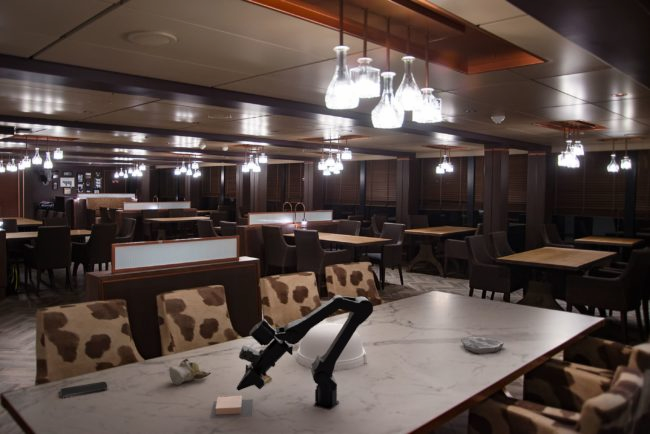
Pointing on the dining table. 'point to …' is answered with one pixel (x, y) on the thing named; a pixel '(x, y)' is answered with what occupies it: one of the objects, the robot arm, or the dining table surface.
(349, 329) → the robot arm
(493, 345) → the flat grey rock
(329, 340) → the dome cover
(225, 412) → the tile
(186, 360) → the ceramic sculpture
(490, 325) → the dining table surface
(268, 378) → the shard
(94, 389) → the phone
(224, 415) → the mat
